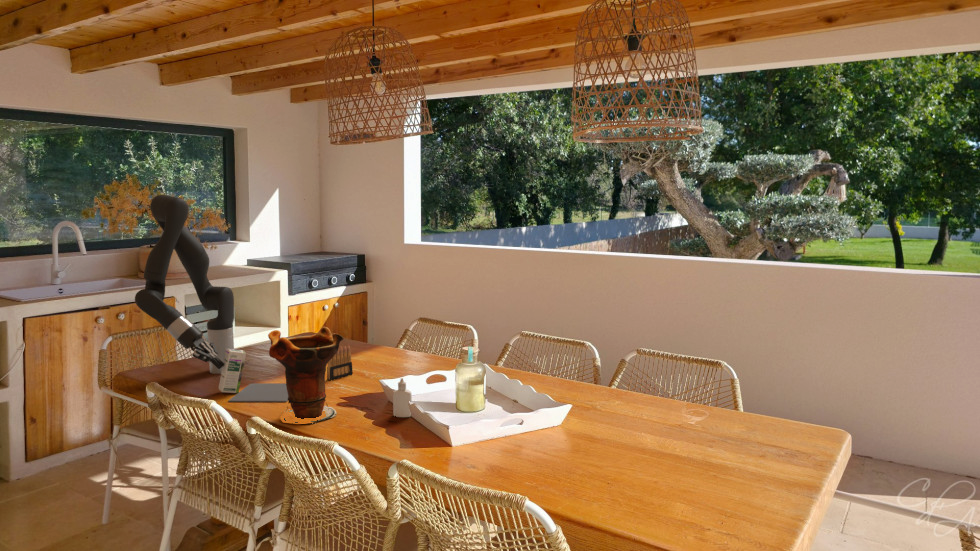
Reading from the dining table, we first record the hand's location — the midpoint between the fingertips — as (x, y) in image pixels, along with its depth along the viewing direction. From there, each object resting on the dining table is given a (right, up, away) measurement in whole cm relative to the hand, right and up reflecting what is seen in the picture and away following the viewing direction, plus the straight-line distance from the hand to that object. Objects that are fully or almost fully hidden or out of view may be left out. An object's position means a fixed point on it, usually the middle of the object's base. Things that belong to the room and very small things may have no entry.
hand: (222, 366), depth 235 cm
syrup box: (+2, -9, +1) cm, 9 cm away
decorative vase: (+36, -12, -22) cm, 44 cm away
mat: (+15, -9, +1) cm, 18 cm away
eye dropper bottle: (+66, -12, -23) cm, 71 cm away
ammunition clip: (+36, -7, +20) cm, 42 cm away
